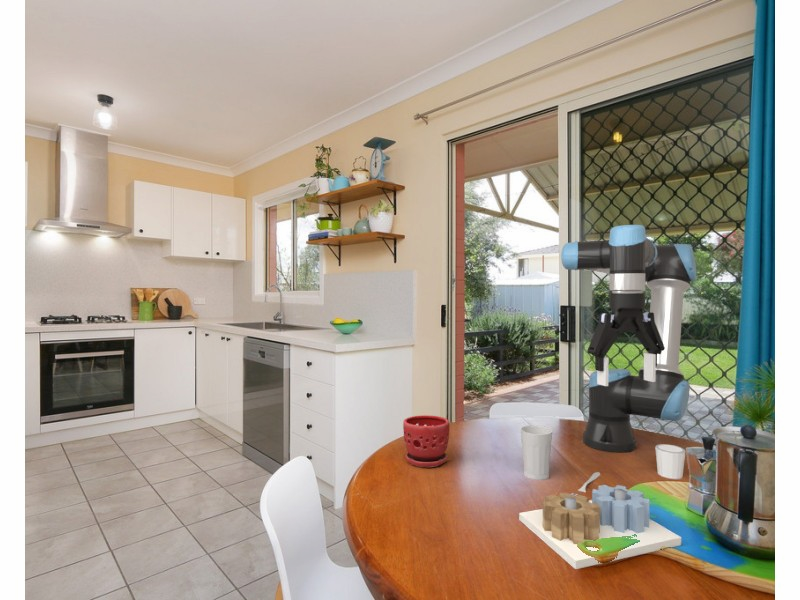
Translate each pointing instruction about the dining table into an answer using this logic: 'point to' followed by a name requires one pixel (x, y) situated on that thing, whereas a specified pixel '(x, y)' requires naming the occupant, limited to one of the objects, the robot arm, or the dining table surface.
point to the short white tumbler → (670, 461)
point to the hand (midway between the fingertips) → (626, 383)
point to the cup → (536, 451)
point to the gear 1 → (571, 518)
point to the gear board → (577, 559)
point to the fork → (587, 483)
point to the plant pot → (426, 440)
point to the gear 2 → (622, 509)
